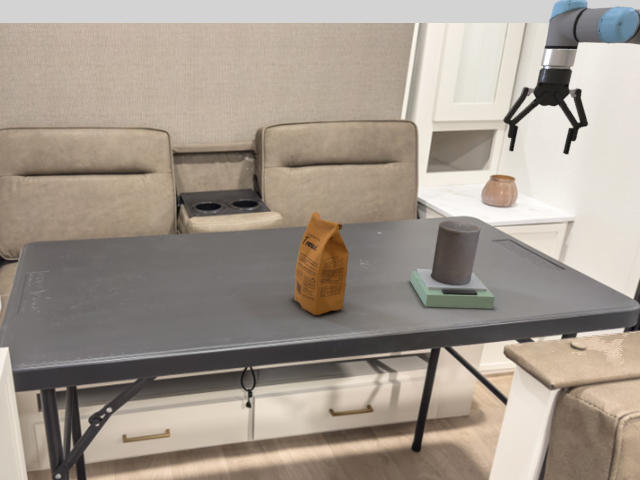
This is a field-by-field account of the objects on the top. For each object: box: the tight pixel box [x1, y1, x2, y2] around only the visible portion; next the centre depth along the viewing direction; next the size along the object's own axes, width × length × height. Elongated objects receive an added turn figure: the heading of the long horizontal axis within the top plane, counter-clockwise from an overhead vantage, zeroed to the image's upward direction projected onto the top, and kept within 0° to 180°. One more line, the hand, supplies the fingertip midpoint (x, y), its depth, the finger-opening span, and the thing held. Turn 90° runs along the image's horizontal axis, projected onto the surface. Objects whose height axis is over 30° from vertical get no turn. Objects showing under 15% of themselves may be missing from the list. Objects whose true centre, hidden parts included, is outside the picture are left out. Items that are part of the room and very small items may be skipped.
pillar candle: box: [431, 220, 482, 285], centre depth 144 cm, size 10×10×15 cm
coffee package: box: [294, 211, 350, 316], centre depth 136 cm, size 10×12×22 cm
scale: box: [410, 268, 496, 310], centre depth 147 cm, size 16×16×4 cm
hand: (538, 152), depth 157 cm, fingers open, 13 cm apart
